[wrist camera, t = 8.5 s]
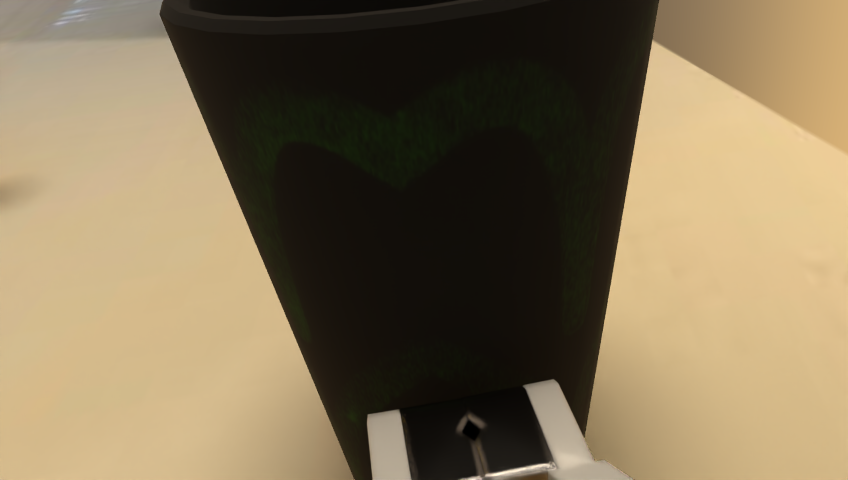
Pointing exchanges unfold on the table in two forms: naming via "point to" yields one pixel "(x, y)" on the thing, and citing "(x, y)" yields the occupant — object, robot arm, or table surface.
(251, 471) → the table surface
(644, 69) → the cup
